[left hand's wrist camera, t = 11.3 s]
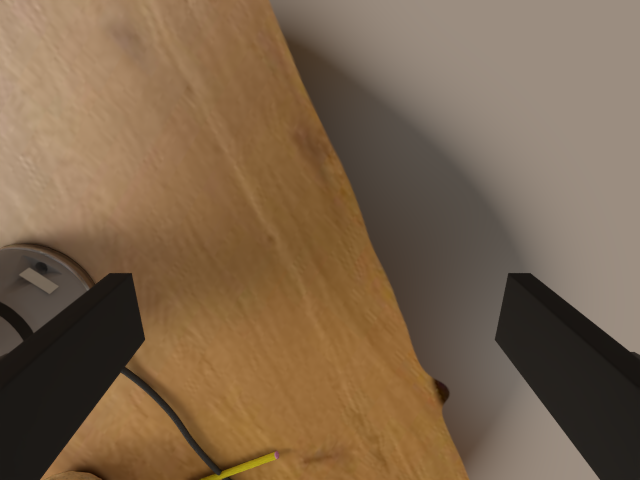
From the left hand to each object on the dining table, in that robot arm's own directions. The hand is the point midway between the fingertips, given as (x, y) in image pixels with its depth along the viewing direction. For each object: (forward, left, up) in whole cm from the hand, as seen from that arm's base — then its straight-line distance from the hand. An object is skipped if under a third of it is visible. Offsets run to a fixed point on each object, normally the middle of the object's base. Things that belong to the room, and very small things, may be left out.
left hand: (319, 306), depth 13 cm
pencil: (-41, +25, -29) cm, 56 cm away
